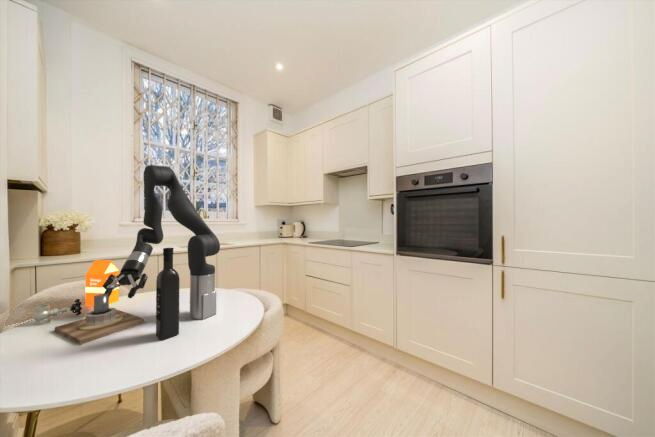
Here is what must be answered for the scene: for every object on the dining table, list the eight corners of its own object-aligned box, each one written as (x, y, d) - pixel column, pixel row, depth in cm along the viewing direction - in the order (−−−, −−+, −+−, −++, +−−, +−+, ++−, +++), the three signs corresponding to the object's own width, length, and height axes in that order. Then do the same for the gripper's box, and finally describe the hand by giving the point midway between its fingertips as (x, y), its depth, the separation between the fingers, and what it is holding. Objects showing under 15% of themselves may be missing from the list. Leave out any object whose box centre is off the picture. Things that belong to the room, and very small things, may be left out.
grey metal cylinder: (111, 318, 90) (111, 293, 90) (103, 323, 86) (103, 296, 86) (99, 318, 90) (99, 293, 90) (90, 323, 86) (90, 297, 86)
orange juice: (103, 306, 108) (103, 262, 108) (84, 305, 108) (85, 261, 108) (119, 300, 115) (119, 259, 115) (102, 300, 116) (102, 258, 116)
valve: (35, 327, 87) (81, 316, 97) (35, 309, 87) (82, 300, 97) (32, 323, 90) (77, 312, 101) (32, 306, 90) (77, 297, 101)
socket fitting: (144, 322, 92) (144, 308, 92) (80, 344, 76) (80, 327, 76) (117, 313, 100) (117, 300, 100) (54, 331, 84) (54, 315, 84)
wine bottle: (161, 341, 78) (162, 249, 78) (154, 336, 82) (155, 248, 82) (180, 334, 83) (180, 248, 83) (173, 329, 86) (174, 246, 86)
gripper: (113, 259, 104) (92, 294, 93) (149, 258, 106) (133, 292, 95) (121, 268, 109) (102, 302, 98) (156, 268, 112) (141, 301, 100)
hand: (117, 297), depth 96 cm, fingers open, 8 cm apart
